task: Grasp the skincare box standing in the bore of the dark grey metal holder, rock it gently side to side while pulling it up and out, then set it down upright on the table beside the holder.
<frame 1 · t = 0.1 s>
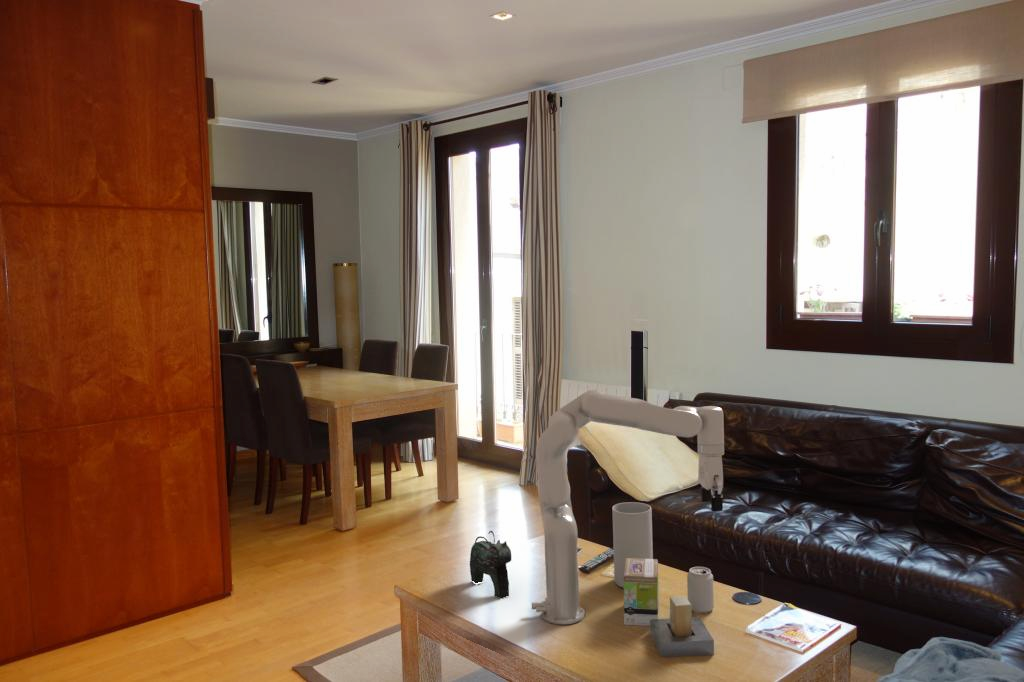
hand: (712, 505, 231), 31 cm above the table, tool pointing down, fingers open, 9 cm apart
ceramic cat: (489, 590, 254), on the table
cylinder vase: (633, 583, 255), on the table
can: (700, 609, 233), on the table
skincare box: (681, 644, 212), resting in holder
holder: (681, 643, 212), on the table
tea box: (641, 615, 231), on the table
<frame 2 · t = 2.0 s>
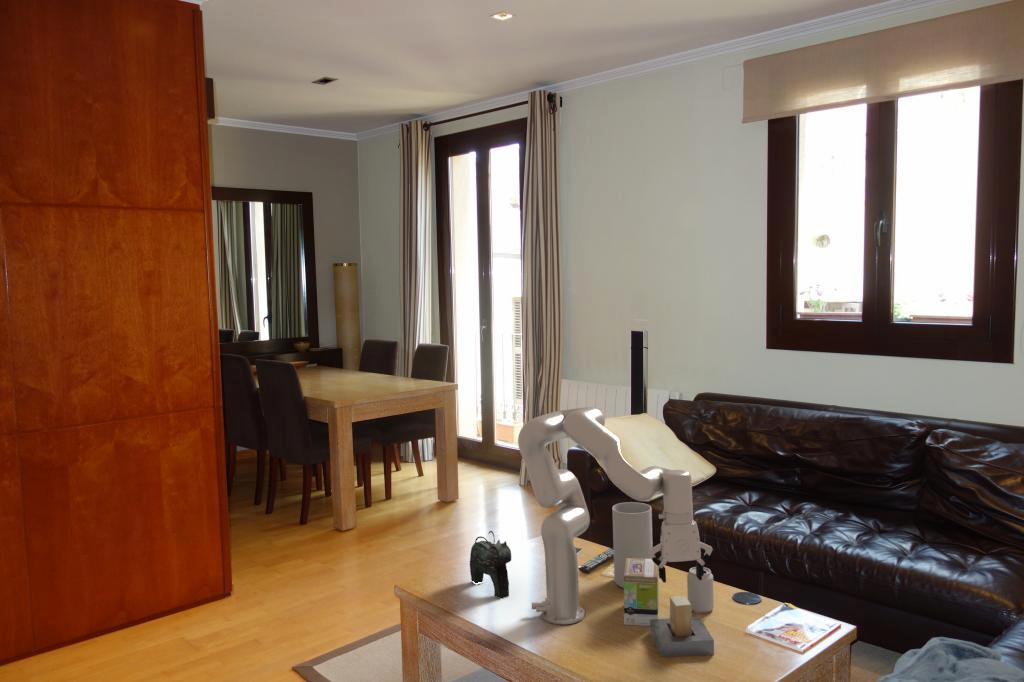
hand: (681, 579, 210), 18 cm above the table, tool pointing down, fingers open, 9 cm apart
nothing on the table moved.
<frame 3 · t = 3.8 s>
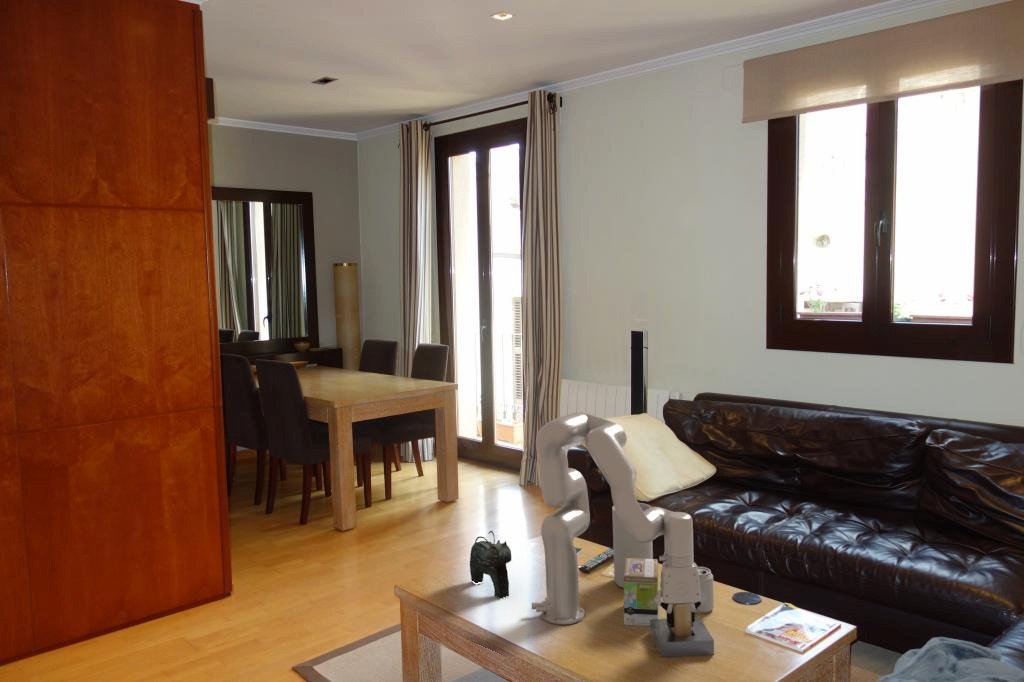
hand: (680, 624, 211), 5 cm above the table, tool pointing down, fingers closed on skincare box, 4 cm apart
skincare box: (681, 644, 212), resting in holder, touching gripper
everything else where it was.
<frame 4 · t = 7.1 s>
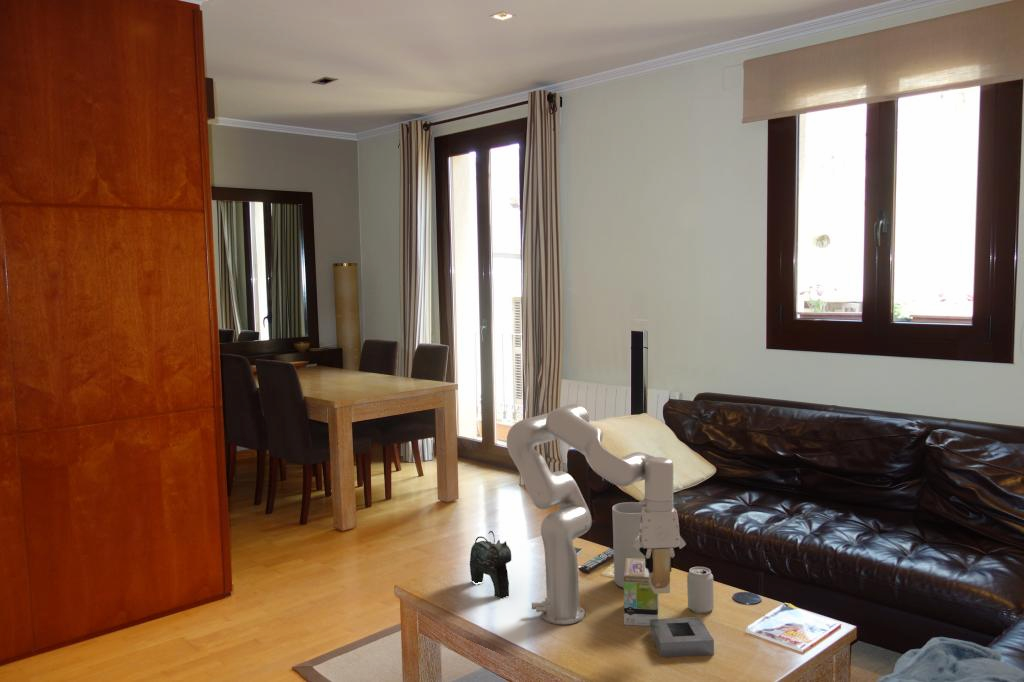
hand: (659, 569, 210), 21 cm above the table, tool pointing down, fingers closed on skincare box, 4 cm apart
skincare box: (659, 589, 211), point 15 cm above the table, touching gripper
everything else where it was.
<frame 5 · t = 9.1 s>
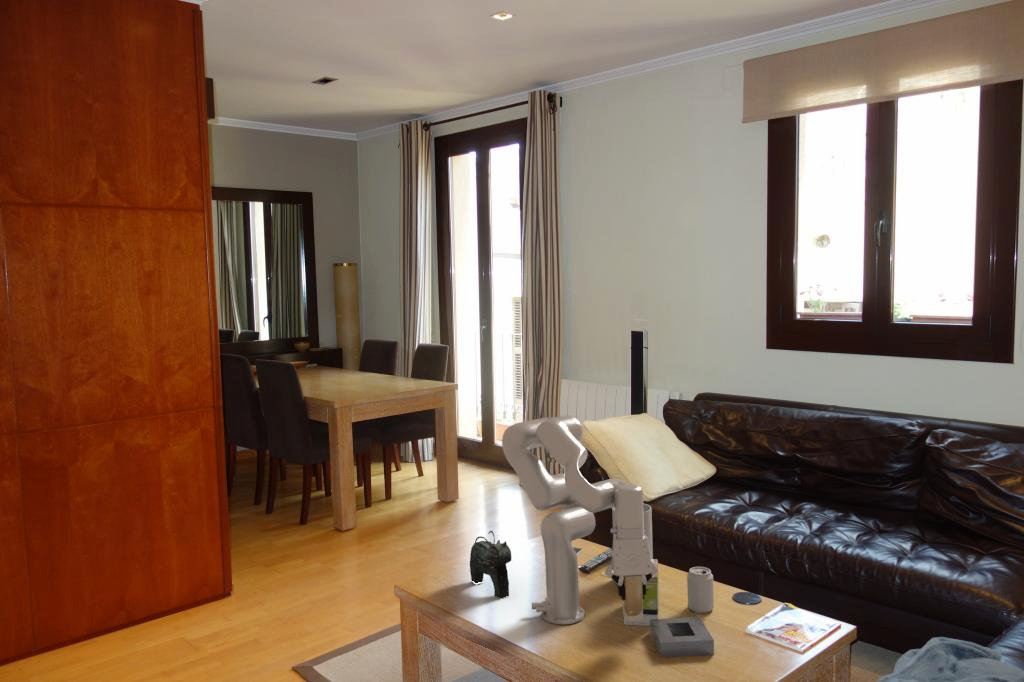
hand: (632, 597, 210), 14 cm above the table, tool pointing down, fingers closed on skincare box, 4 cm apart
skincare box: (633, 617, 211), point 8 cm above the table, touching gripper
everything else where it was.
when the fingers open (7 cm above the table, at t = 10.7 s): skincare box drops 1 cm, on the table.
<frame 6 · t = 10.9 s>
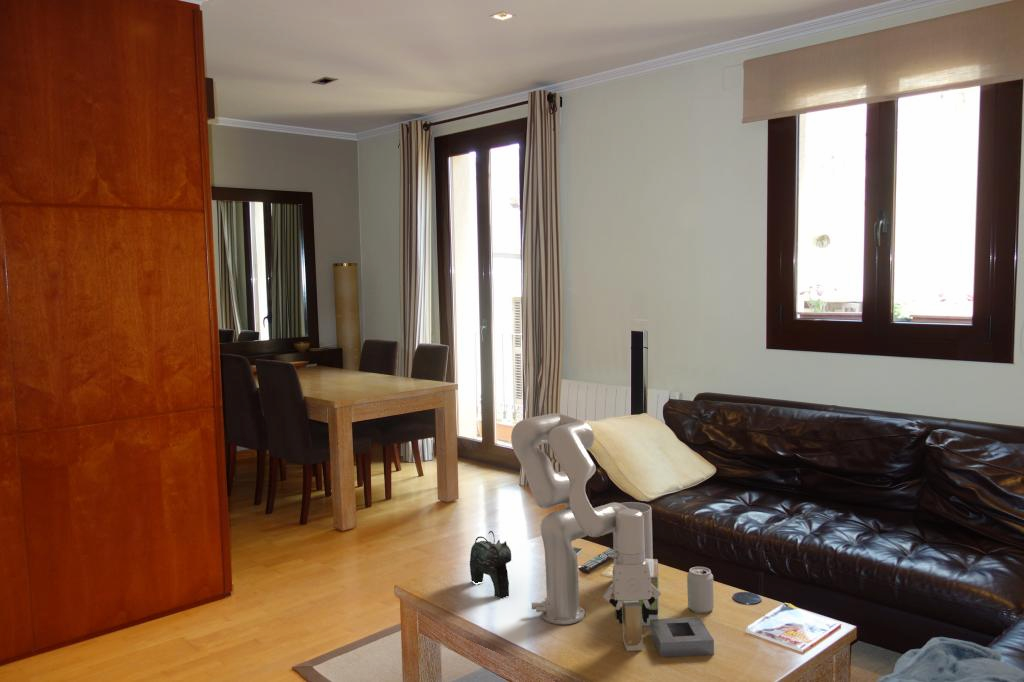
hand: (632, 620, 211), 7 cm above the table, tool pointing down, fingers open, 6 cm apart
skincare box: (632, 646, 212), on the table
everything else where it was.
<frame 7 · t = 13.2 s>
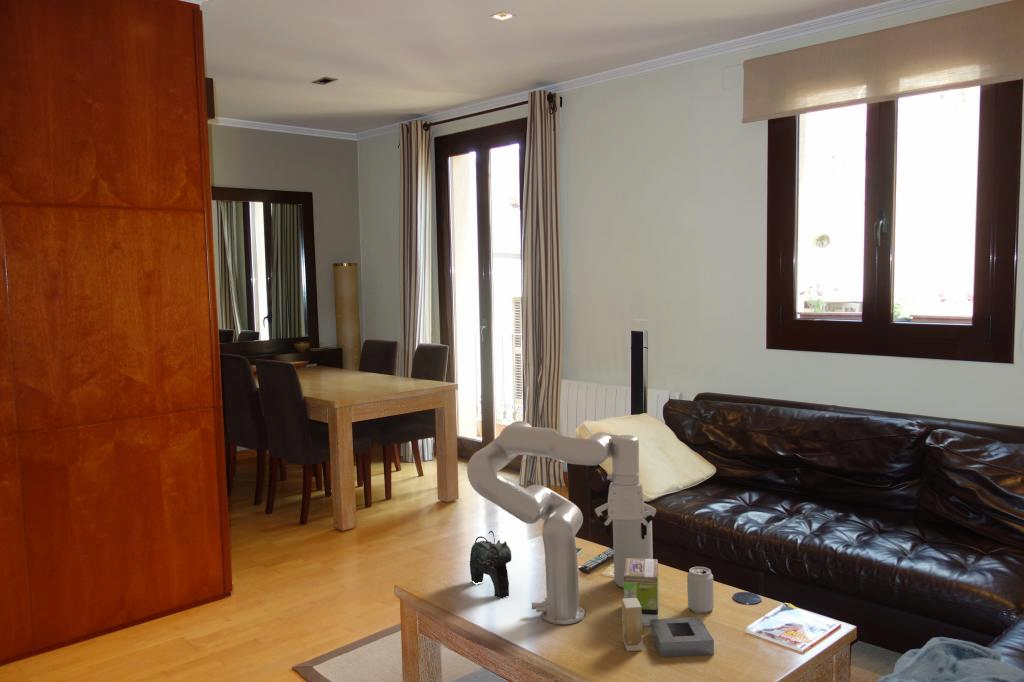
hand: (625, 537, 224), 25 cm above the table, tool pointing down, fingers open, 9 cm apart
nothing on the table moved.
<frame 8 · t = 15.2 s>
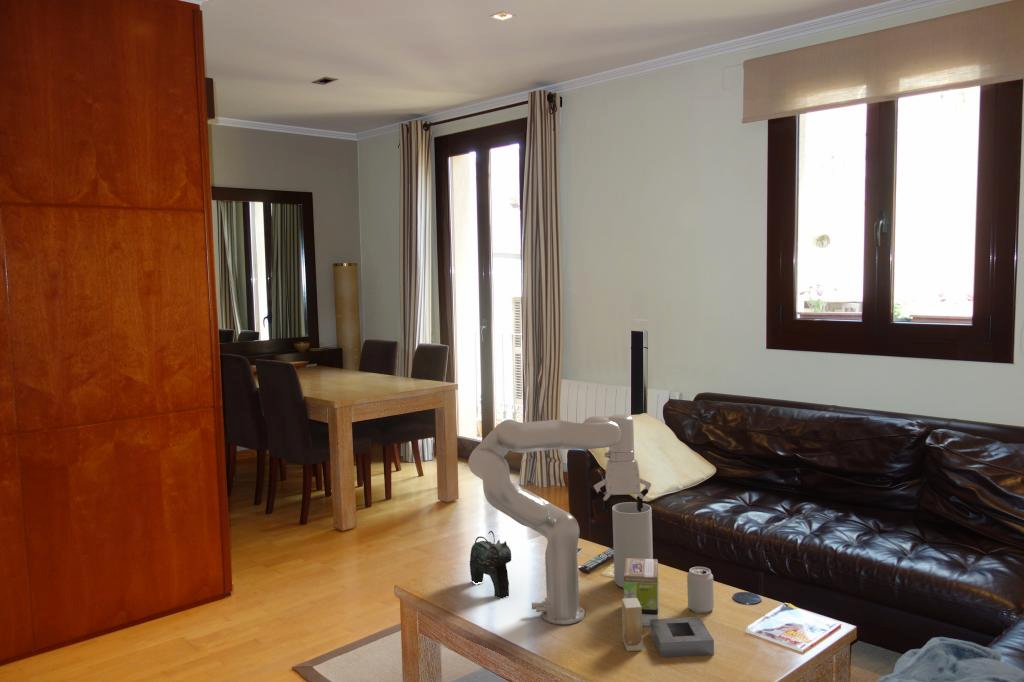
hand: (623, 511, 238), 28 cm above the table, tool pointing down, fingers open, 9 cm apart
nothing on the table moved.
at the end: skincare box inside the target area (0.1 cm from its centre), on the table; skincare box tilted 0°; skincare box touching table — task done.
